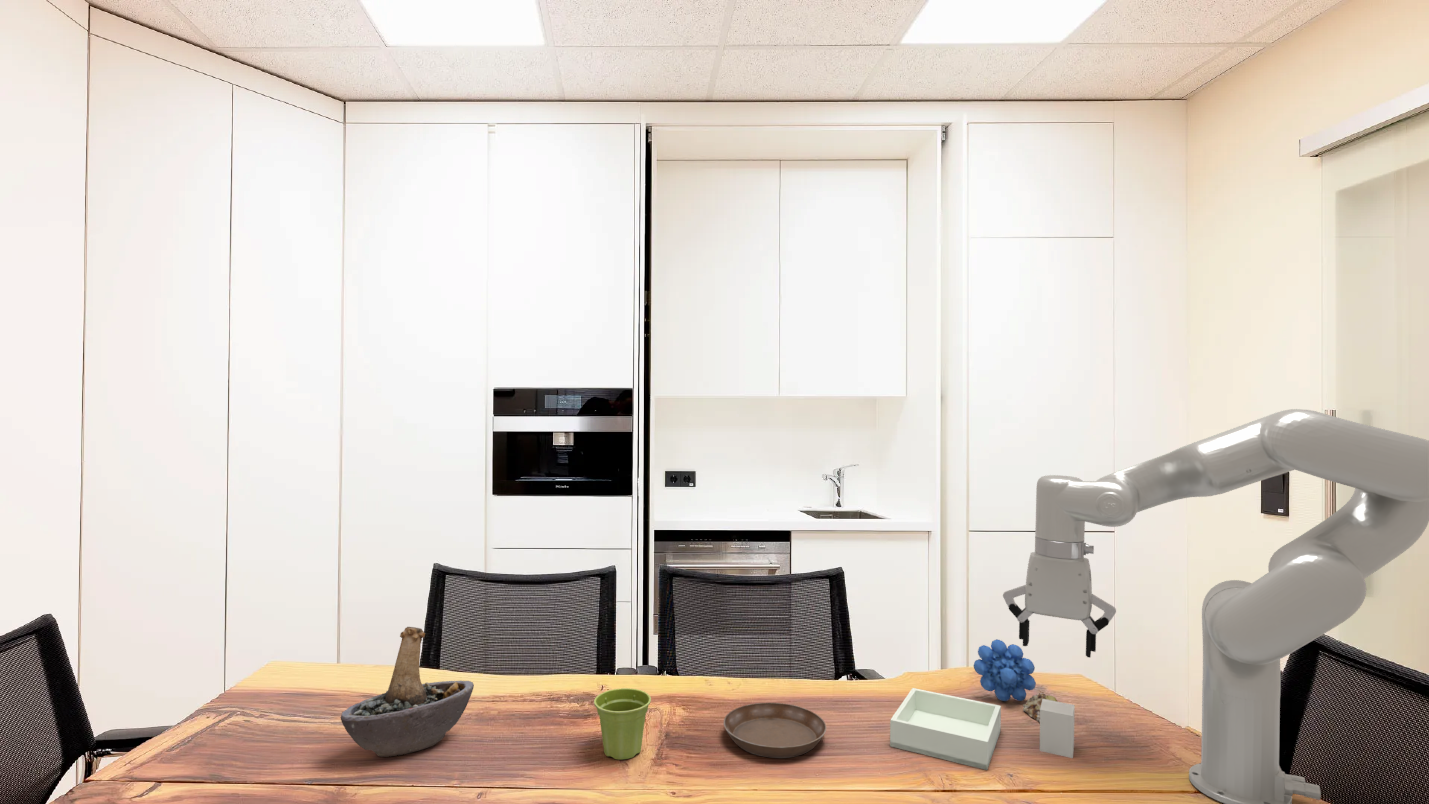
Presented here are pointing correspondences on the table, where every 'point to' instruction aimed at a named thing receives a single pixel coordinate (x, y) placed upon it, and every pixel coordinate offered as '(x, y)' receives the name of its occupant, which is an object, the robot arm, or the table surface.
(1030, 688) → the blue knobby lump
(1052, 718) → the stone block
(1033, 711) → the mineral rock
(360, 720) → the planter
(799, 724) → the plant saucer
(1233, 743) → the robot arm
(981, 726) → the sage bin
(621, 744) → the plant pot
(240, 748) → the table surface
